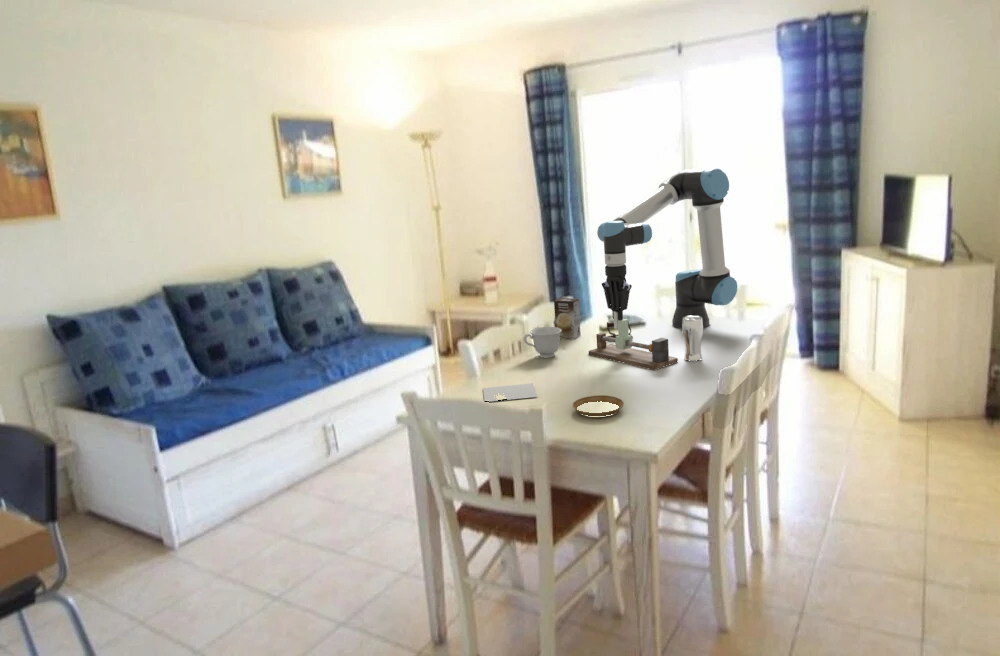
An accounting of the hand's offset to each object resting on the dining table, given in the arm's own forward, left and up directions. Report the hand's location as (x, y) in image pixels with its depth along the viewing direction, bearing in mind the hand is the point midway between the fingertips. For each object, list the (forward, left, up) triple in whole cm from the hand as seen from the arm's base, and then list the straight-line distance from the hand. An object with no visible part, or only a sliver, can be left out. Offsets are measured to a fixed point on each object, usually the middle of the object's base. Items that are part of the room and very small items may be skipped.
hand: (618, 328), depth 251 cm
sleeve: (0, +3, -7) cm, 7 cm away
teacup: (+18, -22, -11) cm, 30 cm away
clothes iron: (-16, -16, -11) cm, 25 cm away
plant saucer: (+46, +35, -11) cm, 59 cm away
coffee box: (-8, -36, -11) cm, 39 cm away
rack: (0, +6, -10) cm, 12 cm away
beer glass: (-12, +24, -11) cm, 29 cm away
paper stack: (+47, 0, -11) cm, 48 cm away
